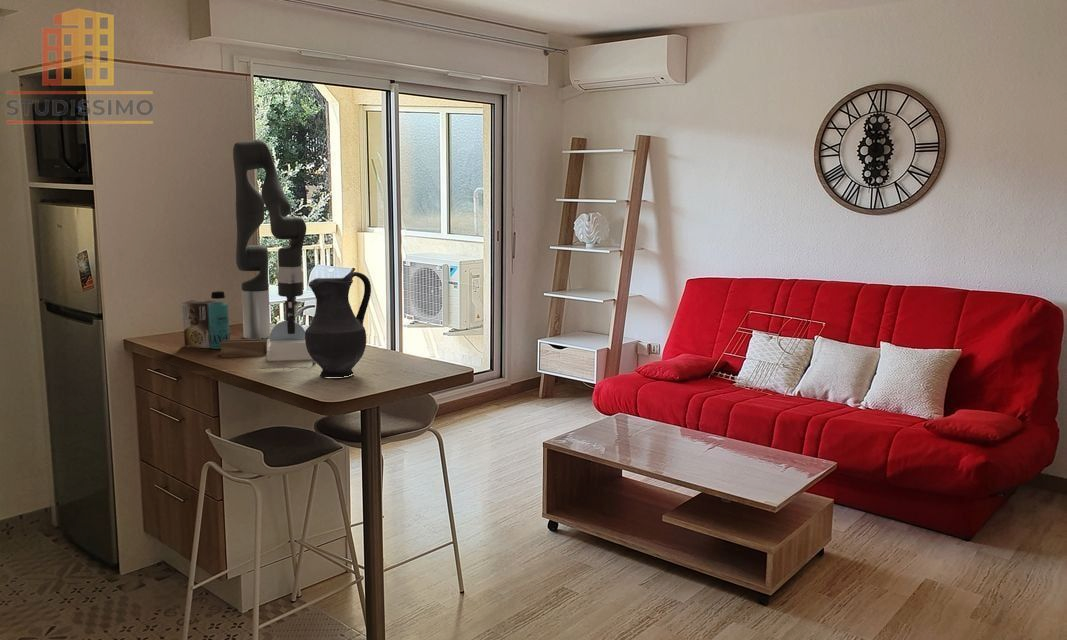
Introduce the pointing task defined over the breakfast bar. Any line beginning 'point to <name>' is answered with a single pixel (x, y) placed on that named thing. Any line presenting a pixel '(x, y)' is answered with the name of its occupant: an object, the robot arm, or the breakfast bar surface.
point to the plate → (286, 332)
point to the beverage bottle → (218, 321)
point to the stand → (244, 347)
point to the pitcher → (337, 326)
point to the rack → (288, 350)
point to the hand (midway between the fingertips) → (291, 331)
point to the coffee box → (196, 323)
